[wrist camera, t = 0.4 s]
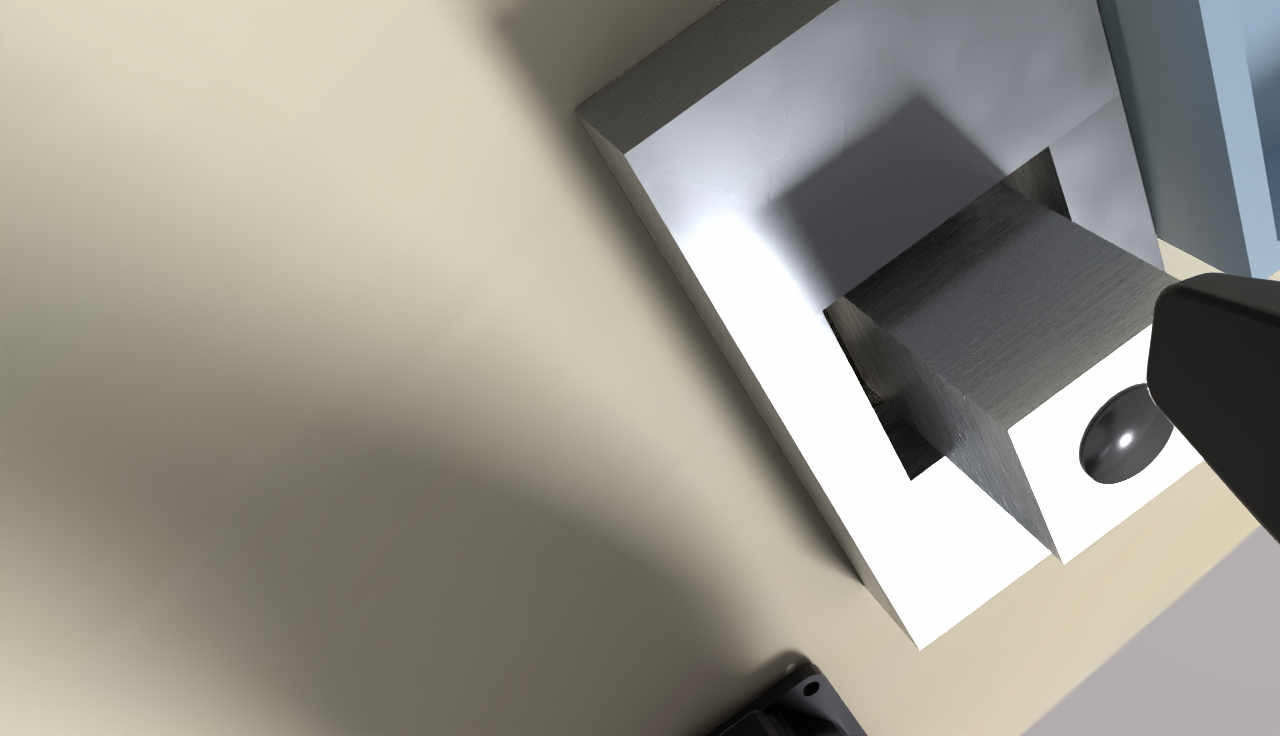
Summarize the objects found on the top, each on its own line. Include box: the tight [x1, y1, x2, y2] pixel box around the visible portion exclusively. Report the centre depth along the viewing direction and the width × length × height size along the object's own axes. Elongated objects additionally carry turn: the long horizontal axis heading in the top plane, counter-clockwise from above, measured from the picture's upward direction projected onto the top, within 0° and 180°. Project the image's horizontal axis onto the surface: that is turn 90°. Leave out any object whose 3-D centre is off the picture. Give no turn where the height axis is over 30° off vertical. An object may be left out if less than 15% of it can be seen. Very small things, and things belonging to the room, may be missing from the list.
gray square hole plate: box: [574, 0, 1165, 650], centre depth 25 cm, size 16×9×2 cm, turn 29°
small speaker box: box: [826, 182, 1204, 564], centre depth 24 cm, size 4×4×7 cm
